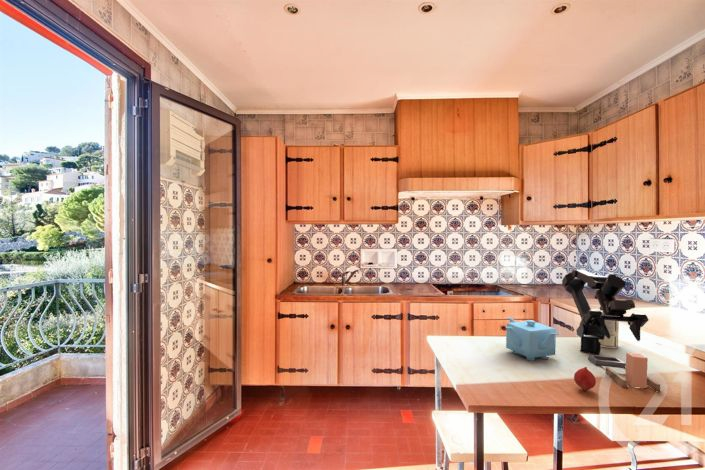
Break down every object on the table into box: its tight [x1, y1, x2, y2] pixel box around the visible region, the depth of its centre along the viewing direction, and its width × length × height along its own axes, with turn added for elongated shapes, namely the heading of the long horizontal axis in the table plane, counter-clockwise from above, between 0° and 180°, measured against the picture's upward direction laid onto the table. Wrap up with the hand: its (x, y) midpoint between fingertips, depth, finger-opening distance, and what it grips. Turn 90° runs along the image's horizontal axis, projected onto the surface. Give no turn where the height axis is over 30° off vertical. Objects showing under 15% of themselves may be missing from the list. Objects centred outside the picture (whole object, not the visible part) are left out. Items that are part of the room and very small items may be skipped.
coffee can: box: [599, 311, 620, 349], centre depth 148 cm, size 10×10×14 cm
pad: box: [600, 366, 626, 376], centre depth 119 cm, size 6×7×1 cm
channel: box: [604, 367, 661, 393], centre depth 110 cm, size 11×10×2 cm
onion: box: [573, 366, 597, 392], centre depth 104 cm, size 6×6×8 cm
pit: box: [587, 354, 626, 369], centre depth 126 cm, size 6×10×2 cm, turn 76°
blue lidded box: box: [504, 316, 559, 362], centre depth 133 cm, size 19×19×15 cm
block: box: [624, 352, 649, 389], centre depth 108 cm, size 4×4×10 cm
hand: (624, 339), depth 115 cm, fingers open, 9 cm apart
